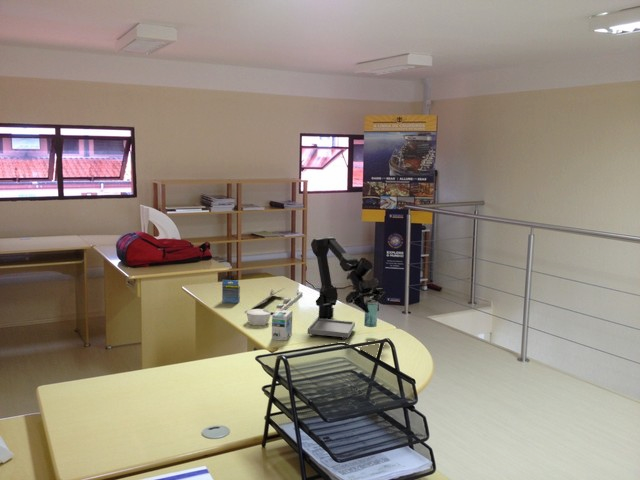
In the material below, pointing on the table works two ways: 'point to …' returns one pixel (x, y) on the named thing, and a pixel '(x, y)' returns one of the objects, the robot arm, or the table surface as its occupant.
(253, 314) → the ramekin
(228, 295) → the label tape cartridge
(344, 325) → the shallow grey tray
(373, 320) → the teal canister
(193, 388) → the table surface
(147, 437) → the table surface
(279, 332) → the light bulb box
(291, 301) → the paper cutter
